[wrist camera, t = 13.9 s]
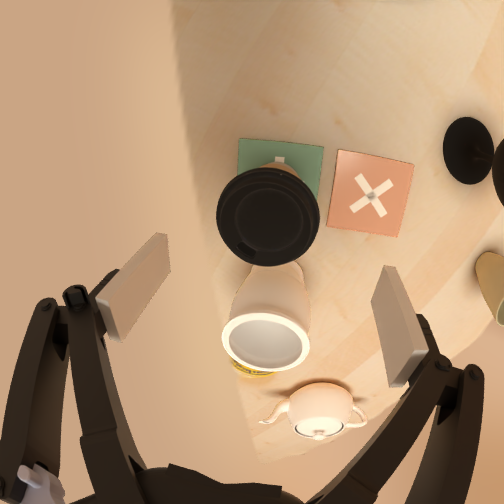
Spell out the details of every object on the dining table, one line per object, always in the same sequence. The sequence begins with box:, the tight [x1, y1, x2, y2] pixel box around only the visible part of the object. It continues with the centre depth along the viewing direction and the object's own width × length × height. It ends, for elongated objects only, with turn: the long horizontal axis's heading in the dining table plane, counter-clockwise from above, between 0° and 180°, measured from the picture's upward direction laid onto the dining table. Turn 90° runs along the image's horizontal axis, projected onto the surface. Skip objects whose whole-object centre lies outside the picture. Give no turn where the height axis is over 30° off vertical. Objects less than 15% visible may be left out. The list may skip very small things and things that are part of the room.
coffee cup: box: [216, 162, 320, 267], centre depth 30 cm, size 9×9×15 cm
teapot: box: [259, 382, 368, 440], centre depth 54 cm, size 25×16×12 cm, turn 85°
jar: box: [222, 261, 311, 371], centre depth 38 cm, size 11×10×15 cm
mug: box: [475, 252, 504, 327], centre depth 32 cm, size 11×10×12 cm
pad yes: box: [237, 138, 324, 201], centre depth 37 cm, size 11×11×1 cm
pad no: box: [327, 149, 414, 237], centre depth 36 cm, size 11×11×1 cm
